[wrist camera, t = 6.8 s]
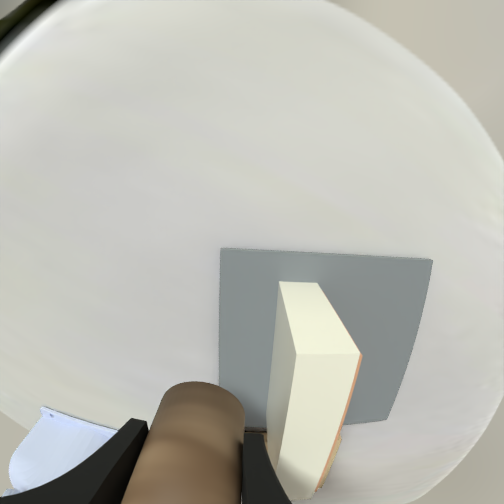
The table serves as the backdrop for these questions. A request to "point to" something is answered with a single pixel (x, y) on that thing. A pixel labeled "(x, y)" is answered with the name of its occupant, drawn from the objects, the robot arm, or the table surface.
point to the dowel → (191, 449)
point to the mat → (346, 306)
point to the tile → (307, 386)
